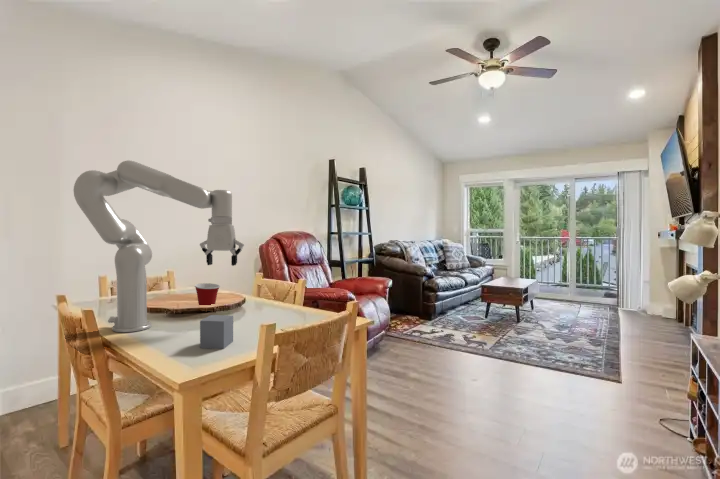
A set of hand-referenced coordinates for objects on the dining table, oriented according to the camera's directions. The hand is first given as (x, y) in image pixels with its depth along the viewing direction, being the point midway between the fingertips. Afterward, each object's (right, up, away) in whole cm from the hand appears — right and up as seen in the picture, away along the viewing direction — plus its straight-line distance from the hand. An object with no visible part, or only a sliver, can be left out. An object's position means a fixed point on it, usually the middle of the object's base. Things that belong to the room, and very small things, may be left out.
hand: (221, 265), depth 150 cm
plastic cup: (-14, -23, +22) cm, 34 cm away
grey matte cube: (+8, -24, -25) cm, 36 cm away
